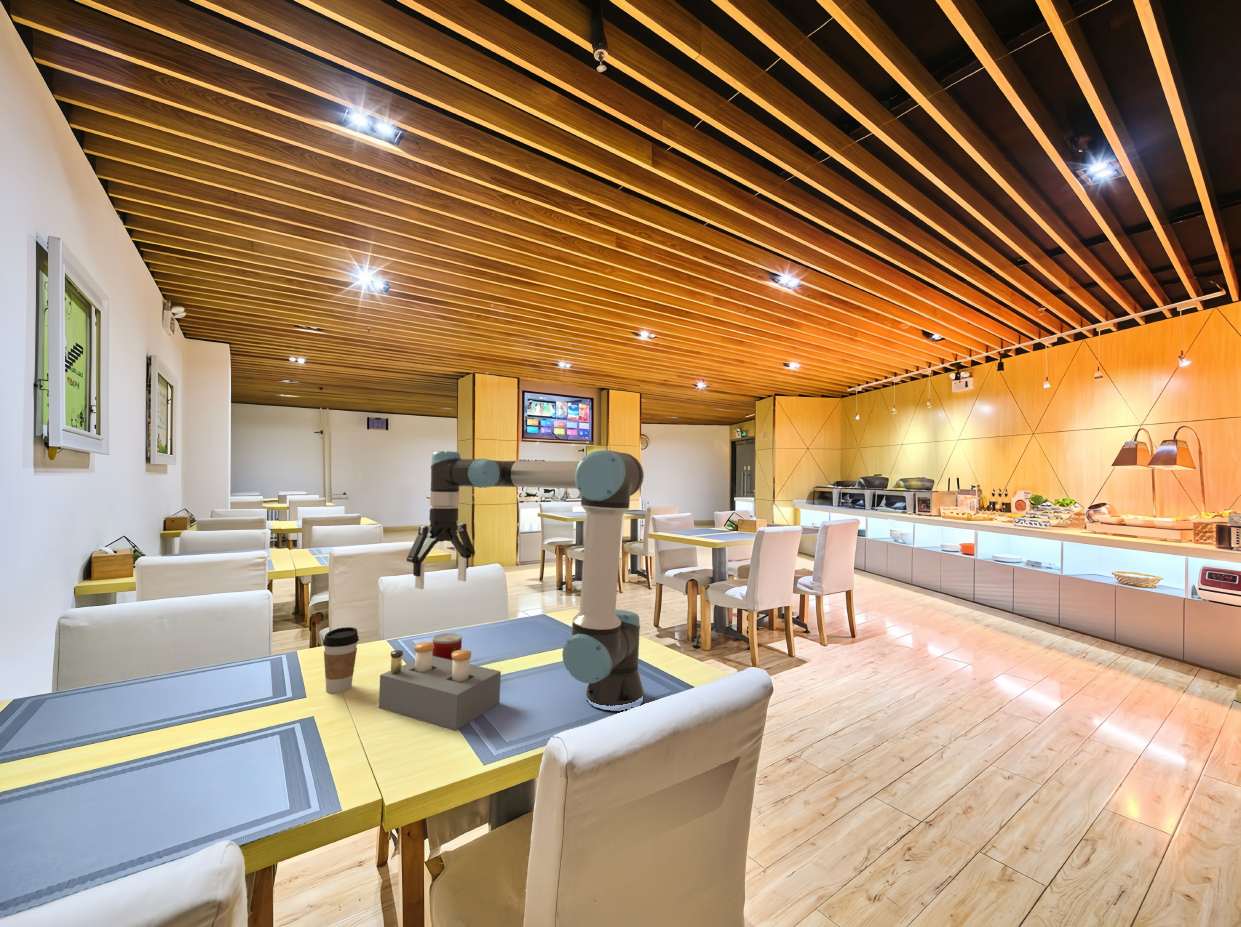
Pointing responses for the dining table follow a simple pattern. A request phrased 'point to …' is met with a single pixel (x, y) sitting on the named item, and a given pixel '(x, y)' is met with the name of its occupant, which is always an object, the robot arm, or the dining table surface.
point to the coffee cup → (340, 658)
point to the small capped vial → (396, 661)
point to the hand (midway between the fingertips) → (441, 584)
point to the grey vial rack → (440, 693)
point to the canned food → (446, 645)
